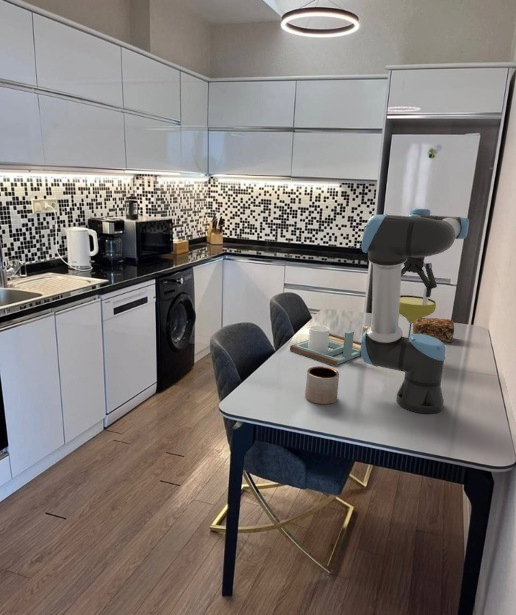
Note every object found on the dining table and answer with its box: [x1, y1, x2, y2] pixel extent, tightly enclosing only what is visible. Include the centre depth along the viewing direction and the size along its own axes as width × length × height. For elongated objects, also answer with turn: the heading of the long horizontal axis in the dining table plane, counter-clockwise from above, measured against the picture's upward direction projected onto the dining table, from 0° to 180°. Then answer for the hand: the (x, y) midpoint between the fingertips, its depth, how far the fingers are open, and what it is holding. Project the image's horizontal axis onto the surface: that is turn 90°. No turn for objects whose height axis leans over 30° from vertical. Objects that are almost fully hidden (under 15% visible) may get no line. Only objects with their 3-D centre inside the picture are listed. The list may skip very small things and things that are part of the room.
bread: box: [412, 317, 455, 343], centre depth 234 cm, size 19×11×10 cm, turn 74°
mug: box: [307, 325, 330, 353], centre depth 208 cm, size 9×12×11 cm
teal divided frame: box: [295, 330, 360, 366], centre depth 205 cm, size 17×22×12 cm
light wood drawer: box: [329, 325, 371, 350], centre depth 215 cm, size 7×22×12 cm, turn 46°
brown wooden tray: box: [289, 332, 362, 367], centre depth 210 cm, size 29×24×2 cm
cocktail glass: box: [399, 294, 437, 338], centre depth 205 cm, size 18×18×25 cm
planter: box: [304, 365, 340, 405], centre depth 161 cm, size 11×11×10 cm
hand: (408, 301), depth 191 cm, fingers open, 13 cm apart
